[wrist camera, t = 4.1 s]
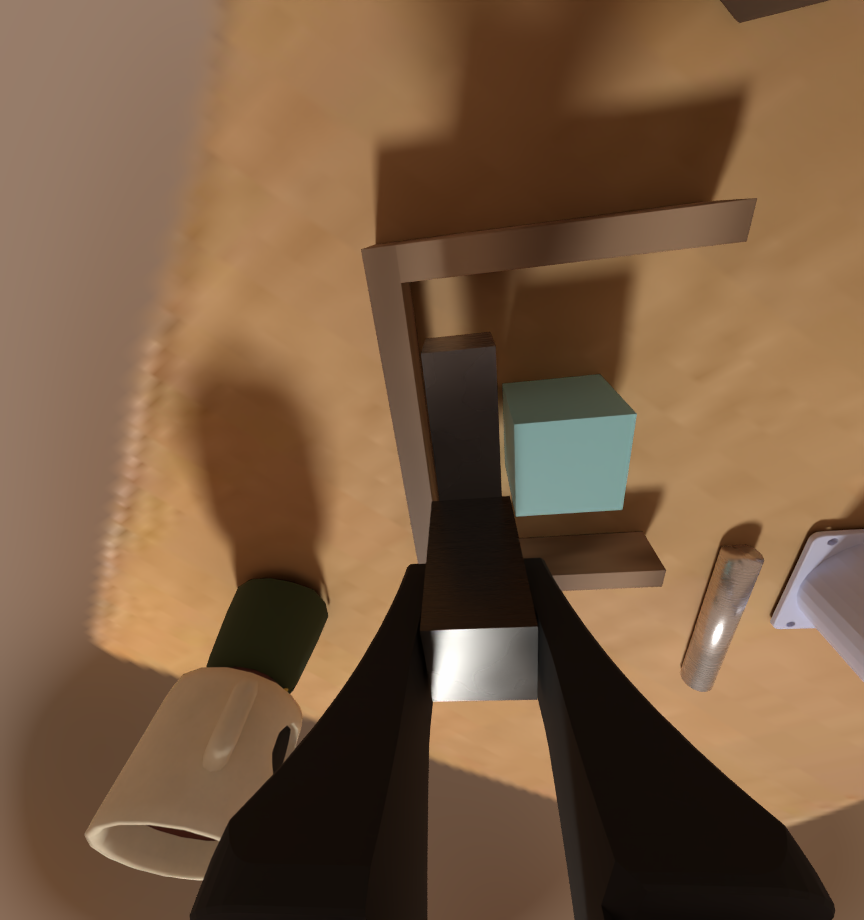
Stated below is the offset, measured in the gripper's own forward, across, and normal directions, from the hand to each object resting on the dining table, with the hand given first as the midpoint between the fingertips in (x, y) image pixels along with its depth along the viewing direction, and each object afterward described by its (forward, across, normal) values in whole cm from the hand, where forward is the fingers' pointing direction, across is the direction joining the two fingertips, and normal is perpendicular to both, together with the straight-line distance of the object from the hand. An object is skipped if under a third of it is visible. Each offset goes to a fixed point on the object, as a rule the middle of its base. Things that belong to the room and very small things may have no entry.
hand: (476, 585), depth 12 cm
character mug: (+10, +13, +12) cm, 21 cm away
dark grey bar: (+4, 0, 0) cm, 4 cm away
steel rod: (+10, -15, +15) cm, 23 cm away
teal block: (+10, -4, 0) cm, 11 cm away
